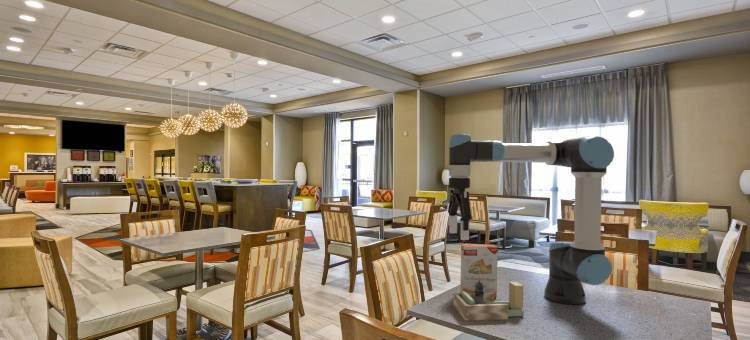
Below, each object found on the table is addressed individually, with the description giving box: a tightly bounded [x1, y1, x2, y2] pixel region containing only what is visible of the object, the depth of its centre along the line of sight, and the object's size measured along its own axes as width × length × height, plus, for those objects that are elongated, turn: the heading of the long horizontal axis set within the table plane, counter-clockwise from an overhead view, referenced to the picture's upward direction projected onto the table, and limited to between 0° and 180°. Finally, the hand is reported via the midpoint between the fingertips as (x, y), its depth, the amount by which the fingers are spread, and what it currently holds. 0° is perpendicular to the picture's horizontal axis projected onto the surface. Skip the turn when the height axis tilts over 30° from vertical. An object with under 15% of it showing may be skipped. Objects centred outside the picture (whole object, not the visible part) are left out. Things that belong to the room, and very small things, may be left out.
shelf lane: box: [453, 293, 509, 321], centre depth 143 cm, size 15×13×5 cm
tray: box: [462, 281, 525, 317], centre depth 143 cm, size 20×10×10 cm, turn 96°
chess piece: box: [474, 280, 487, 305], centre depth 143 cm, size 6×6×12 cm
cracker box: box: [459, 243, 499, 299], centre depth 162 cm, size 14×6×21 cm, turn 88°
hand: (458, 236), depth 141 cm, fingers open, 13 cm apart
